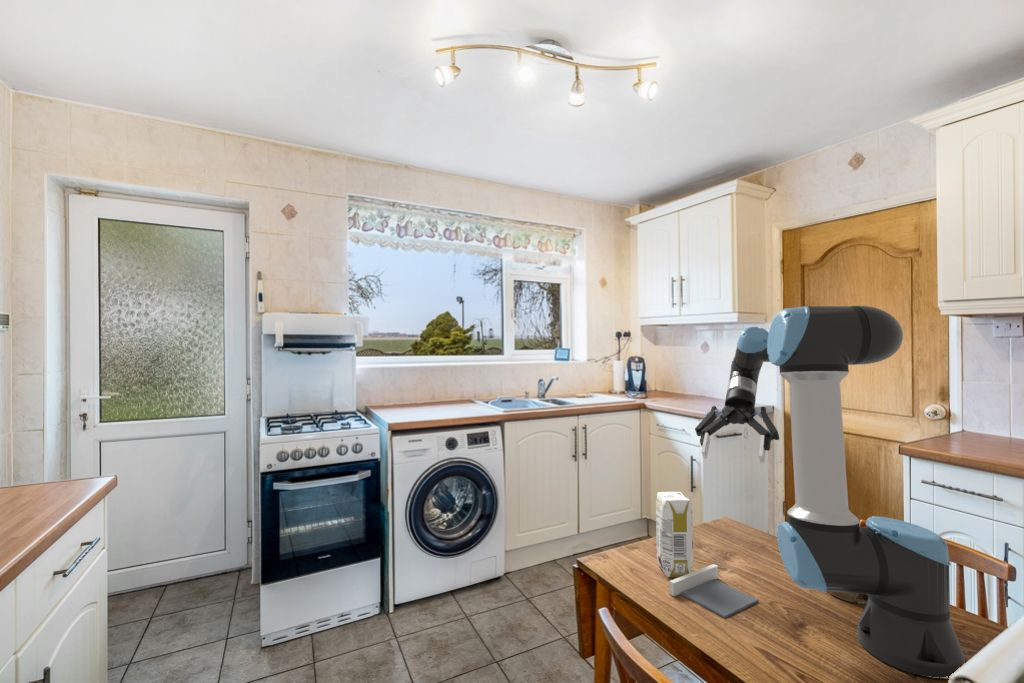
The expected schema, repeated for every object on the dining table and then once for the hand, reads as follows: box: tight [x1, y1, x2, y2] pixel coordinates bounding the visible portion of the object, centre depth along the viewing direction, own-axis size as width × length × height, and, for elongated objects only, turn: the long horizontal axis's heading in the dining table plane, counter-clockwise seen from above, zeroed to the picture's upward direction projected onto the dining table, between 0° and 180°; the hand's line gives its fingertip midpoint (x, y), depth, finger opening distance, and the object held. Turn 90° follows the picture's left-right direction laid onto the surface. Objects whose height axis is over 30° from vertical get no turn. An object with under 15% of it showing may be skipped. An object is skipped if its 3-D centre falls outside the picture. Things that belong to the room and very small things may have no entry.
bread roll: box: [827, 591, 868, 605], centre depth 108 cm, size 10×10×8 cm
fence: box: [668, 563, 719, 597], centre depth 112 cm, size 1×16×3 cm, turn 121°
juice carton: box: [655, 491, 694, 579], centre depth 119 cm, size 8×9×19 cm
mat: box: [680, 579, 759, 619], centre depth 106 cm, size 11×12×1 cm
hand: (731, 457), depth 120 cm, fingers open, 13 cm apart
